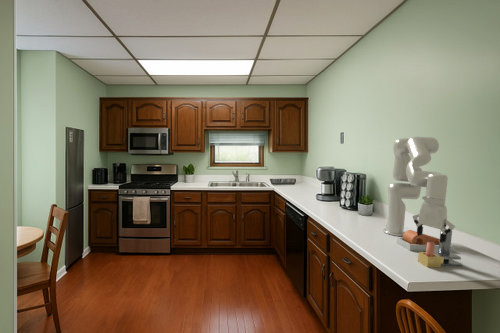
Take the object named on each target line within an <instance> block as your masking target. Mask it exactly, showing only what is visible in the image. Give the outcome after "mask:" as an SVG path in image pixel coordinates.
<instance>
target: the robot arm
mask: <svg viewBox="0 0 500 333" xmlns="http://www.w3.org/2000/svg"><path fill="white" fill-rule="evenodd" d="M439 147H440V144H439V141H438V139H437V138H435V137H431V136H412V137H411V138H406V137H404V138H398V139H396V140H395V141H394V143H393V153H394V164H393V169H392V170H393V171H392V178H393V179H394V180H395V181H397V182H392V183H390V184H389V185H388V187H387V194H388V202H387V204H388V205H387V206H388V207H387V218H386V223H385V224H384V227H385V228H384V229H383V232H384V234H387V235H390V236H393V237H394V236H395V237H403V234H404V233H405V232H406V231H405V229H404V228H405V216H406V204H405V202H404V200H417V199H419V198H420V197H421V196H420V195H421V191H422V188H425V196H422V197H421V199H422V200H424V202H422V203H421V206H420V210H419V213H418V214H414V215H412V218H413V222H414V224H415V225H416V232H417V235H418V236H419V235H422V234H424V233H423V232H424V226H427V227H430V228H434V229H439V231H441V232H442V233H441V235H440V234H439V239H440V242H441V243H443V242H445V241H446V237H447V233H449V232H451V231H452V232H453V230H454V229H455V228H456V226H455V225H454V223H452V222H451V221H449V220H448V210H447V206H446V197H447V191H448V190H447V189H448V188H447V187H448V179H449V178H448V175H446V174H442V173H441V172H438V171H427V170H426V171H425V170H423V169H422V168H421V167H423V166H425V165H428V164H429V163H430V162H431V161H432V154H435V153H437V152H438V150H439ZM447 226H448V228H447Z"/></svg>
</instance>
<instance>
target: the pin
mask: <svg viewBox="0 0 500 333" xmlns="http://www.w3.org/2000/svg"><path fill="white" fill-rule="evenodd" d="M434 247H435V243H433V242H427V246H426V251H425V252H426V255H427V256H431V257H434Z"/></svg>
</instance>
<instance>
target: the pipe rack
mask: <svg viewBox="0 0 500 333" xmlns="http://www.w3.org/2000/svg"><path fill="white" fill-rule="evenodd" d="M396 244H398V245H399V246H401V247H403V248H404V249H406V250H408V251H413V252H414V251H417V252H426V246H427V245H416V244H409V243H407V242H405V241H404V240H403V237H396ZM434 249H435V250H439V245H435V247H434ZM450 252H451V253H453V252H454V245H452V244H451V248H450Z"/></svg>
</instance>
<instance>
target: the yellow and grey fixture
mask: <svg viewBox="0 0 500 333" xmlns="http://www.w3.org/2000/svg"><path fill="white" fill-rule="evenodd" d="M439 232H440V233H439V236H440V235H441V233H442V232H441V230H439ZM452 235H453V230H452V231H451V232H449V233H447V237H446V241H445V242H443V243H441V242H440V241H439V250H435V249H434V257H431V256H427V255H426V251H418V254H417V255H418V256H417V262H418V263H419V264H421V265H423V266H425V267H426V268H442V266H443V267H446V266H448V267H463V264H462V263H461V262H459V261H460V260H461V259H462V257H461V256H460V255H458V254H455V253H453V252H450V248H451V245H452ZM456 260H458V261H456Z"/></svg>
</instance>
